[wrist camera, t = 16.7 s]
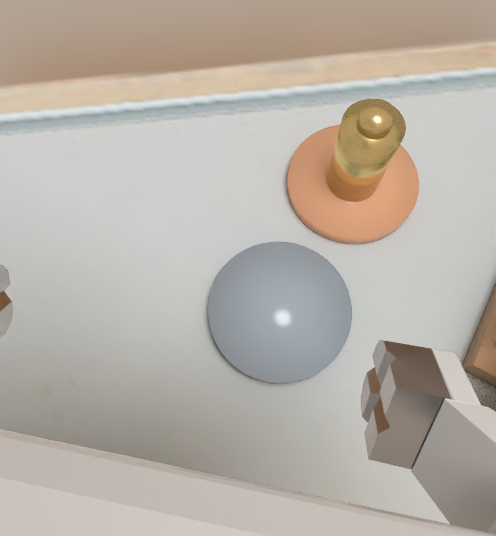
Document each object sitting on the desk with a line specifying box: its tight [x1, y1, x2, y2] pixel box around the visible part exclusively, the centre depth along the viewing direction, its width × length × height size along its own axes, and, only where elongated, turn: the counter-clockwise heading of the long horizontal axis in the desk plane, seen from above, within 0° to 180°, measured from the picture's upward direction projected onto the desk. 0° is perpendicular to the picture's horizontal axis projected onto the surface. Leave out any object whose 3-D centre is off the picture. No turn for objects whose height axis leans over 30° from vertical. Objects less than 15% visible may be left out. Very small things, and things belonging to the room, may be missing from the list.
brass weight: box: [326, 99, 406, 202], centre depth 34 cm, size 4×4×8 cm
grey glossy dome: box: [208, 242, 352, 384], centre depth 35 cm, size 11×11×1 cm
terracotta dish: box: [287, 125, 419, 244], centre depth 39 cm, size 11×11×1 cm
